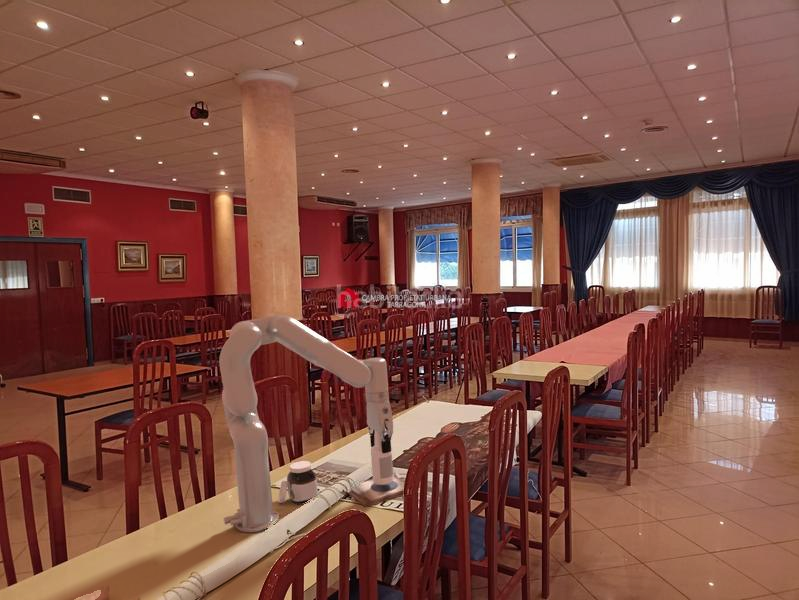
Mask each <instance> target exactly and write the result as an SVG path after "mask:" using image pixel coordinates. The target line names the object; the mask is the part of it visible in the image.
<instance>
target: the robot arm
mask: <svg viewBox="0 0 799 600" xmlns="http://www.w3.org/2000/svg"><path fill="white" fill-rule="evenodd" d="M272 343H279V344H281V345H282V346H284V347H285V348H287V349H288V350H290V351H292V352H294V353H295V354H297V355H299V356H300V357H301V358H303V359H304V360H306V361H308V362H310V363H311V364H313V365H315V366H316V367H318V368H319V367H320V368H322V369H323V370H326V371H328V372H330V373H332V374H333V375H335V376H337V377H338V378H340V379H341V380H342V381H343V382H344V383H347V384H348V385H350V386H352V387H354V388H358V389H359V388H360V389H361V388H363V387H364V390H365V391H364V393H365V402H366V424H367V427H368V432H369V433H368V435H369V438H370V439H369V440H370V447H371V448H372V447H373V446H374V445H375V442H374V441H375V439H374V434H375V431H377V432H379V433H380V434H381V437H382V441H381V446H382V453H383V454H384V453H388V452H391V448H392V441H391V440H392V437H393V434H394V421H393V413H392V407H391V403H390V396H389V381H388V367H387V366H388V365H387V361H386V359H385V358H383V357H371V358H370V357H369V358H366V359H357V358H356V357H355V356H352V355H351V354H350V353H348V352H346V351H345V350H343V349H342V348H340V347H339V346H337V345H336V344H334V343H332V342H331V341H330V340H328V339H327V338H325V337H324V336H322V335H321V334H319V333H317V332H315V331H314V330H312V329H311V328H310V327H308V326H306V325H305V324H303V323H302V322H300V321H298V320H297V319H296V318H294V317H292V316H289V315H285V314H277V315H276V314H275V315H271V316H264V317H259V318H254V319H249V320H243V321H239V322H237V323H235V324H234V325H233V326H232V328H231V329H230V332H229V337H228V339H226V340H225V343H224V345H223V347H222V348H221V350H220V354H219V363H218V364H219V370H220V374H221V376H220V377H221V382H222V387H223V389H222V392H221V400H222V405H223V410H224V414H225V417H226V424H227V427H228V431H229V435H230V436H231V439H232V442H233V448H234V463H235V475H236V486H237V493H238V494H237V495H238V506H239V509H236V512H235V513H234V515H228V516H226V517H223V524H224V525H228V524H230V526H234V525H235V529H236V530H237V531H239V532H242V533H258V532H261V530H262V531H264V530H263V529H265V528H267V527H268V526H270V525H271V524H273V523H275V522H276V521H277V520H278V521H280V514H279V513H278V512H277V511H276V510H274V506H273V496H272V484H271V483H272V482H271V474H270V473H271V472H270V462H269V437H268V432H267V429H266V426H265V425H264V423H263V422H262V421H261V420H260V417H259V414H258V409H257V408H258V407H257V406H258V394H257V391H256V387H255V382H254V378H253V375H252V367H251V358H252V356H253V354H254V353H255V351H257V350H258V349H259V348H260V347H261V346H264V345H268V344H272ZM384 429H385V431H383V430H384ZM384 433H386V435H385V437H384ZM265 530H266V529H265Z"/></svg>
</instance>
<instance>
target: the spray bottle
mask: <svg viewBox="0 0 799 600" xmlns="http://www.w3.org/2000/svg"><path fill="white" fill-rule="evenodd" d="M383 431H386V429H384V430H383ZM386 434H387V433H384V437H385V435H386ZM374 439H375V441H374V442H375V445H374V446H373V447H371V448H370V457H371V470H372V471H371V472H372V473H371V474H372V478H373V482H374V483H375V484H380V485H384V484H389V483H391V482H392V481H393V479H394V477H393V476H394V465H393V463H394V462H393V452H392V450H393V449H392V447H391V452H388V453H384V454H383V453H382V446H381V441H382V437H381V434H380V433H379V432H377V431H375V434H374Z"/></svg>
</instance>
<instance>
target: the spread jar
mask: <svg viewBox="0 0 799 600" xmlns="http://www.w3.org/2000/svg"><path fill="white" fill-rule="evenodd" d="M287 492H288V493H287ZM287 494H288V498H289V499H290V501H291V502H292V503H293V504H296V505H304V504H303V503H305V502H307V501H308V500H310V499H312V498H313V497H315V496H318V482H317V475H316V473H315V472H314V470H313V469H312V463H311V462H310V461H308V460H302V461H301V460H300V461H296V462H293V463H291V464H290V465H289V472H288V473H287V476H286V480H282V481H281V483H280V488H279V491H278V499H277V501H278V504H279V503H280V504H284V502H285V500H286V497H287Z"/></svg>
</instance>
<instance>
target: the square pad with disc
mask: <svg viewBox="0 0 799 600" xmlns="http://www.w3.org/2000/svg"><path fill="white" fill-rule="evenodd" d="M393 477H394V479H393V481H392V482H391V483H389V484H384V485H380V484H375V483H374V482H373V477H372V478H369V479H366V480H363V481H364V482H362V481H361V482H362V483H361V484H360V485H358V486H357V487H354V488H351V491H350V492H349V495H350V496H349V495H348V496H349V497H351V498H352V497H353V498H354V499H355V501H356V500H357V501H358V502H359V504H360V505H361V506H362V507H364V508H367V507H370V506H373V505H376V504H379V503H382V502H386V501H389V500H391V499H395V498H397V497H400V496H401V497H402V496H404V495H403V489H404V481H403V480H401V479H399V478H398V477H396V476H395V475H393ZM353 498H352V499H353ZM354 499H353V500H354ZM357 501H356V502H357ZM358 502H357V503H358Z"/></svg>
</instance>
